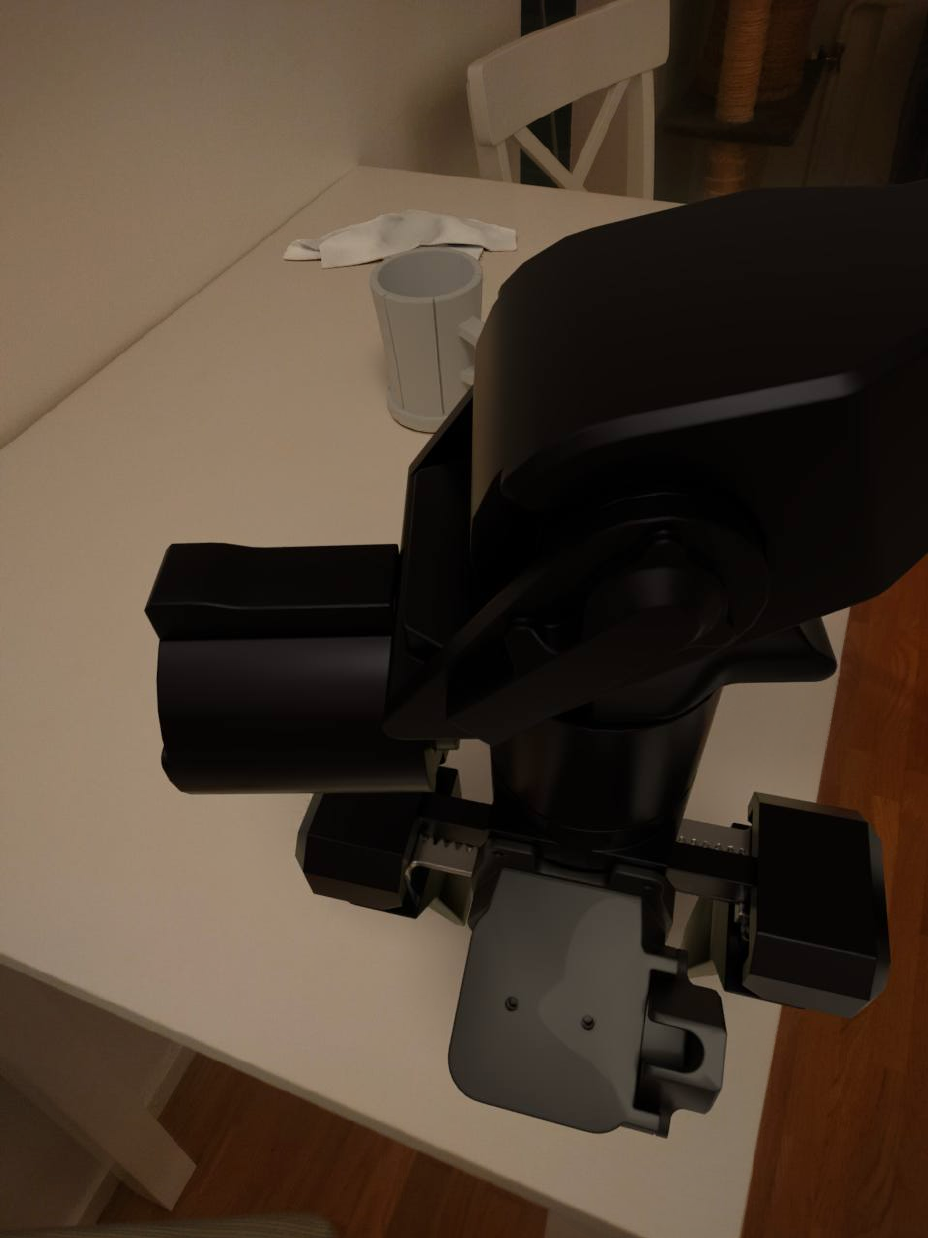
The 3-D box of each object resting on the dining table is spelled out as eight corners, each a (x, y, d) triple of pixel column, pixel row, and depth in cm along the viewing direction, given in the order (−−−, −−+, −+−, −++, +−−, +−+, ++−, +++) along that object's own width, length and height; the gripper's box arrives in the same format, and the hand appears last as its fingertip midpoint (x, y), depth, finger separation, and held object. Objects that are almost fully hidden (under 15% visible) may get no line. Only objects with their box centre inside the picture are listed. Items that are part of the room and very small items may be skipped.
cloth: (525, 217, 96) (525, 196, 94) (510, 274, 87) (510, 253, 85) (312, 213, 100) (309, 193, 98) (277, 267, 91) (272, 247, 89)
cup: (512, 378, 74) (510, 246, 65) (500, 440, 68) (496, 305, 59) (399, 374, 76) (382, 245, 67) (378, 434, 70) (356, 301, 61)
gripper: (146, 950, 19) (290, 1093, 31) (1025, 1179, 15) (809, 1242, 27) (315, 603, 26) (381, 827, 38) (951, 702, 22) (804, 917, 34)
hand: (570, 939), depth 34 cm, fingers open, 9 cm apart
